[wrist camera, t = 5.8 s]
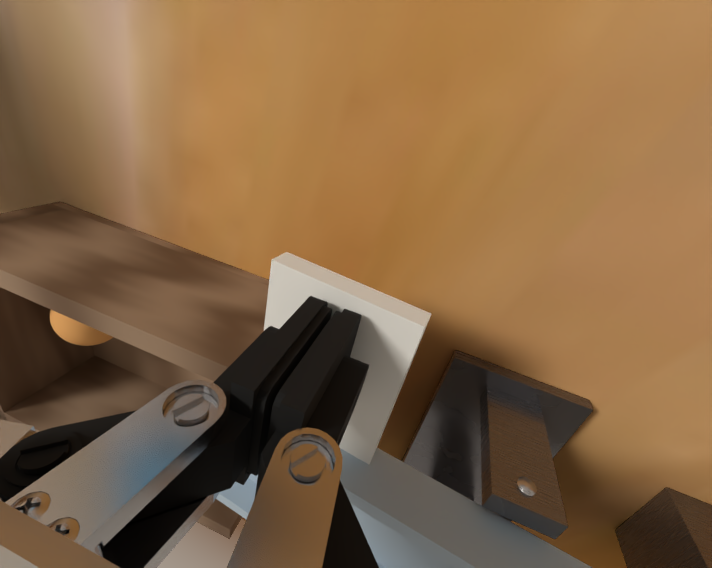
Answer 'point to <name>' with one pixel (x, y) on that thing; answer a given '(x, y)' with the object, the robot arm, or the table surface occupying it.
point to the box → (113, 320)
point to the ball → (76, 331)
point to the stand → (537, 462)
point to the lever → (381, 470)
